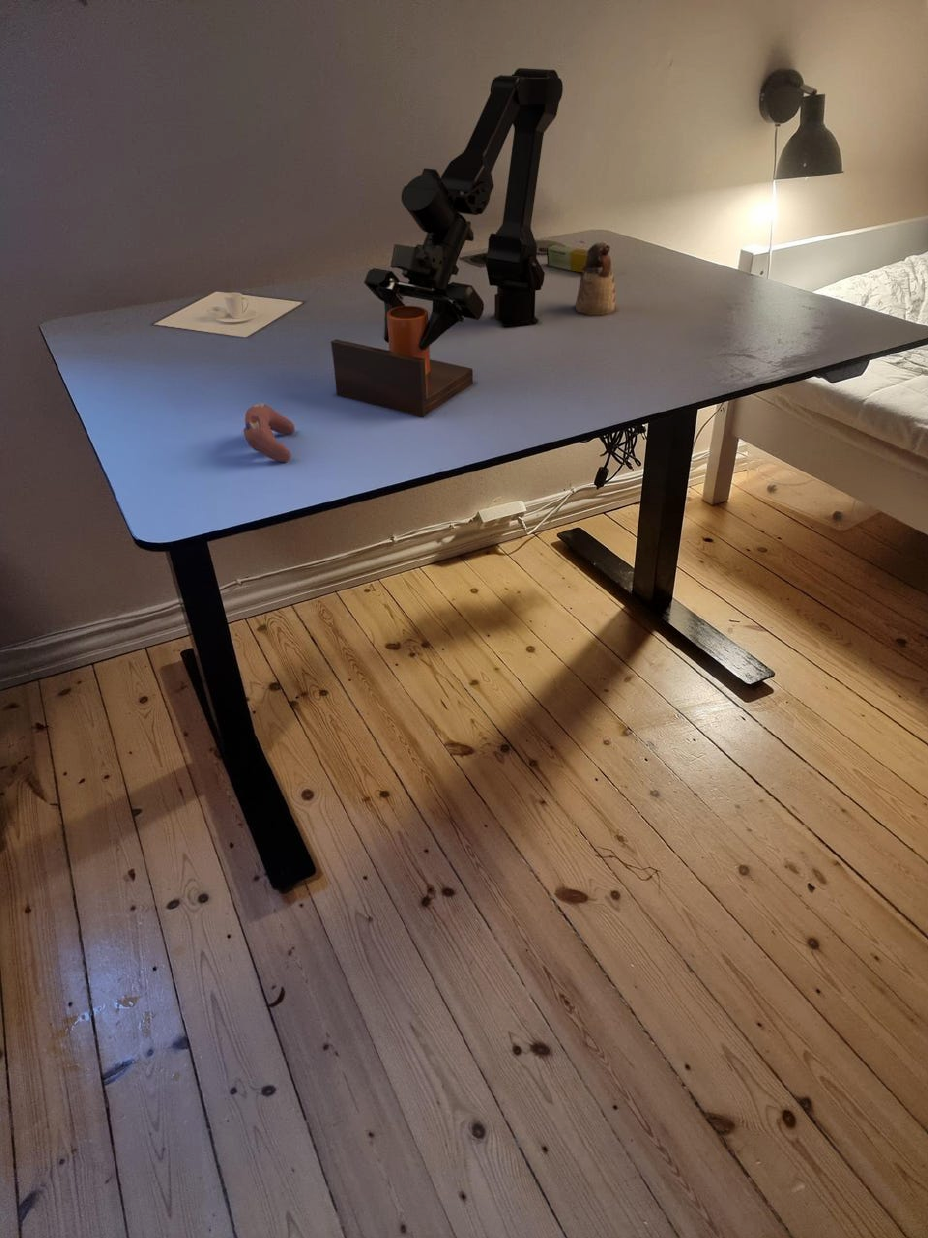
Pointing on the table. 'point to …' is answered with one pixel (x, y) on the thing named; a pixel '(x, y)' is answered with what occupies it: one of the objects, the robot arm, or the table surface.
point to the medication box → (566, 257)
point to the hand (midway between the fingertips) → (403, 345)
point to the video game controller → (267, 431)
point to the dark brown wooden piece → (395, 378)
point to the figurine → (597, 283)
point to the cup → (408, 332)
